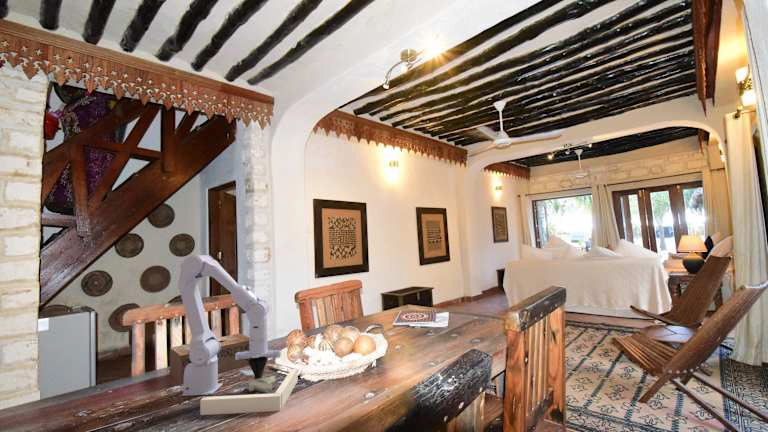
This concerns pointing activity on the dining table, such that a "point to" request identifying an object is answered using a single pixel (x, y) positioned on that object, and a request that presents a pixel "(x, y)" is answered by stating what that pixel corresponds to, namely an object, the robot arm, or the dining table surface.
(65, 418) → the dining table surface
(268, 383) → the pipe fitting
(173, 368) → the tissue box cover
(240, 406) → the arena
